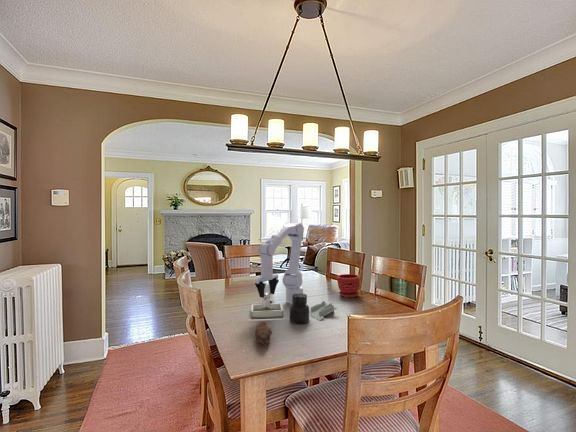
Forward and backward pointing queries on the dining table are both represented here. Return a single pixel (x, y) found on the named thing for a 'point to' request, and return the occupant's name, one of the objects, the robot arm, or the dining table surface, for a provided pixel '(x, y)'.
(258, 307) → the tray
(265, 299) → the silver rounded piece
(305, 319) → the ink bottle
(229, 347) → the dining table surface
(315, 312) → the metal bracket
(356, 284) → the plant pot
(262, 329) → the bird sculpture
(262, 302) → the socket base
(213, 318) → the dining table surface
